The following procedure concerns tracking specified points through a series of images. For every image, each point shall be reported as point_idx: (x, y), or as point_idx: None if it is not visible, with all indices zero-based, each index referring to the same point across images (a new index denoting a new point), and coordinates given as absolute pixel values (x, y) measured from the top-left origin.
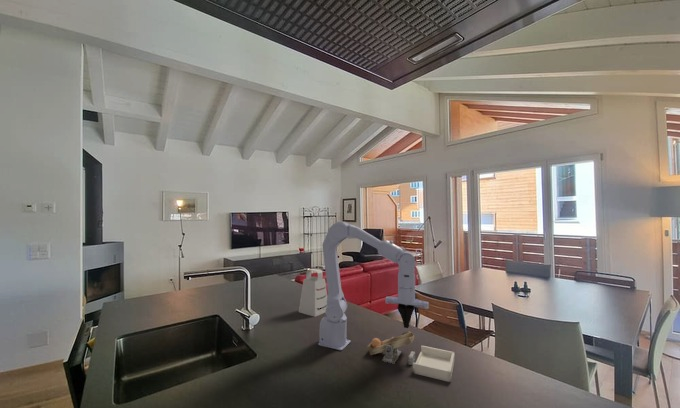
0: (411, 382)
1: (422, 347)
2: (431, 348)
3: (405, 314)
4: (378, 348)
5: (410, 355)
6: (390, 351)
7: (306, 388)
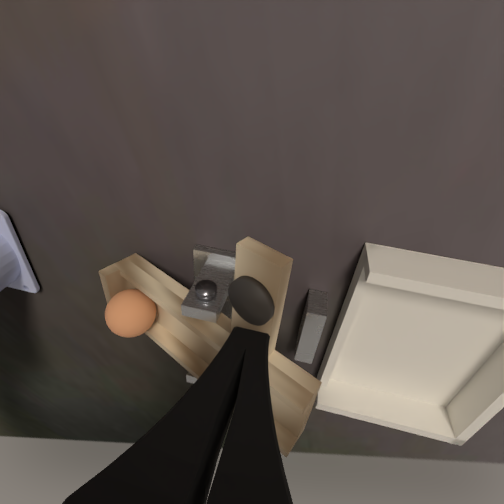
0: (312, 407)
1: (373, 280)
2: (433, 294)
3: (207, 481)
4: (160, 337)
5: (303, 348)
6: None
7: (105, 420)
